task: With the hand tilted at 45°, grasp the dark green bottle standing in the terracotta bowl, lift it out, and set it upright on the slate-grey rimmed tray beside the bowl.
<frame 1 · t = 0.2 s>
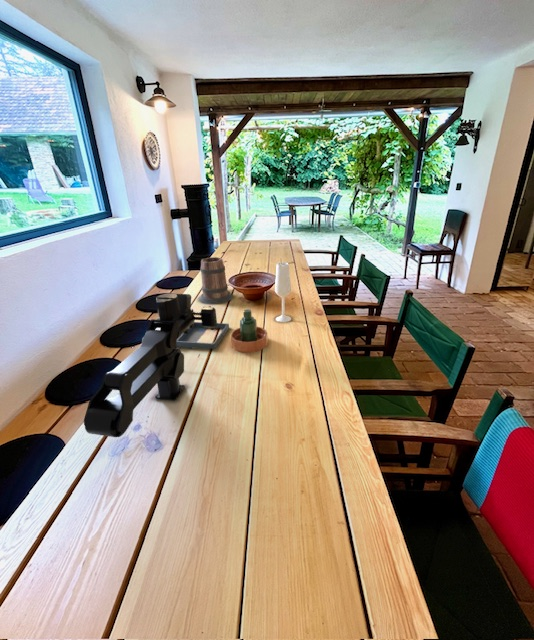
hand: (197, 306, 109), 17 cm above the table, tool horizontal, fingers open, 9 cm apart
bowl: (249, 344, 118), on the table
tankard: (216, 296, 167), on the table
tray: (203, 337, 124), on the table
bottle: (249, 343, 118), point 1 cm above the table, touching bowl
champagne flute: (283, 319, 138), on the table
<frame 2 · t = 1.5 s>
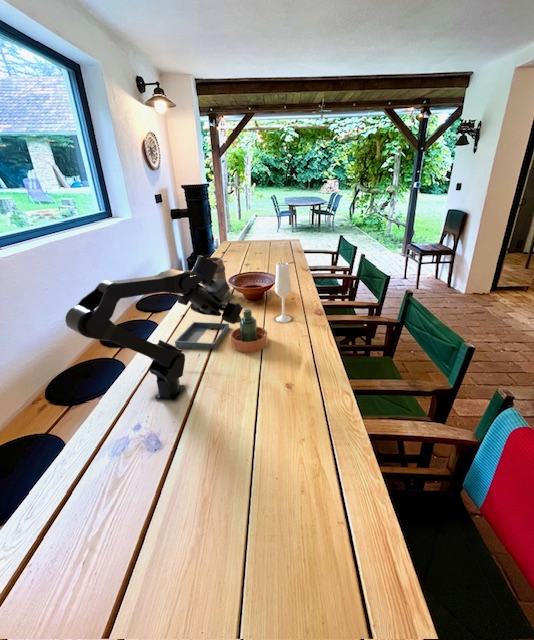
hand: (230, 317, 107), 14 cm above the table, tool tilted 45°, fingers open, 9 cm apart
nothing on the table moved.
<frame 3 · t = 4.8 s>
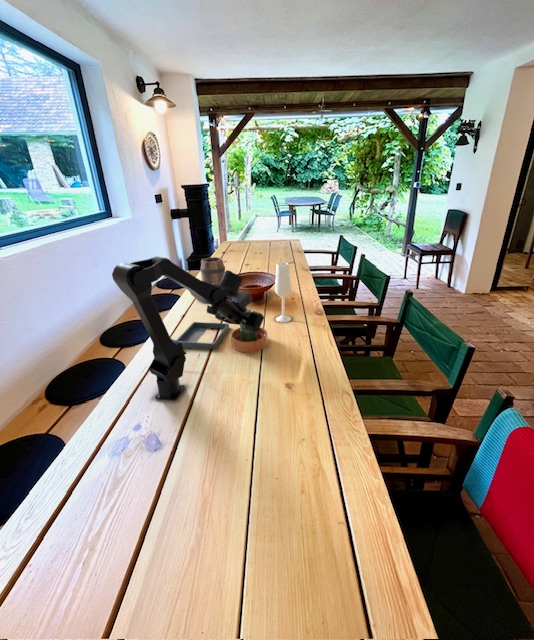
hand: (251, 326, 116), 7 cm above the table, tool tilted 45°, fingers closed on bottle, 6 cm apart
bottle: (249, 343, 118), point 1 cm above the table, touching bowl, gripper
everything else where it was.
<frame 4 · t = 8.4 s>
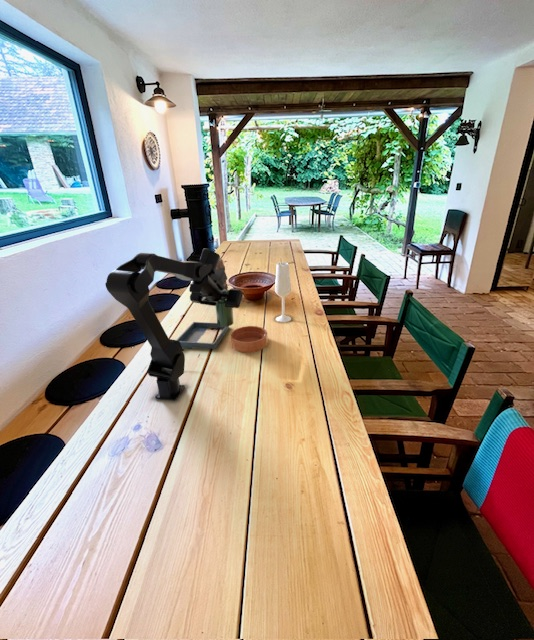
hand: (225, 305, 118), 13 cm above the table, tool tilted 45°, fingers closed on bottle, 6 cm apart
bottle: (225, 323, 119), point 7 cm above the table, touching gripper
everything else where it was.
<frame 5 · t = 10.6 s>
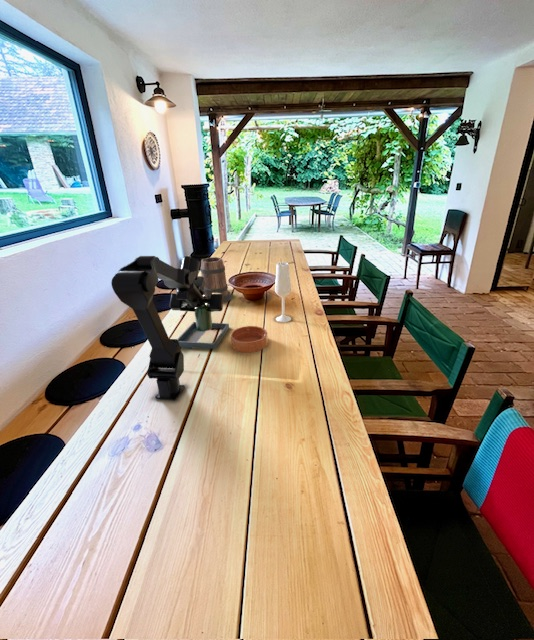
hand: (204, 310, 121), 11 cm above the table, tool tilted 45°, fingers closed on bottle, 6 cm apart
bottle: (204, 327, 122), point 4 cm above the table, touching gripper
everything else where it was.
when the fingers open (7 cm above the table, at t = 12.3 s): bottle stays where it is, resting on tray.
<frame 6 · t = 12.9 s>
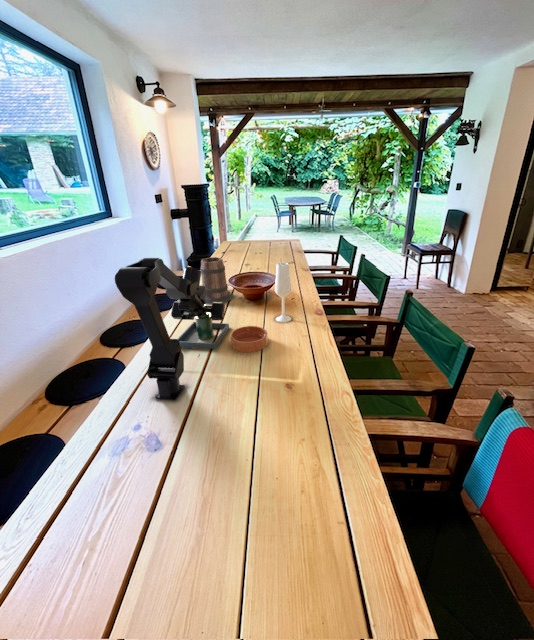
hand: (205, 318, 122), 8 cm above the table, tool tilted 45°, fingers open, 9 cm apart
bottle: (206, 336, 124), resting on tray
everything else where it was.
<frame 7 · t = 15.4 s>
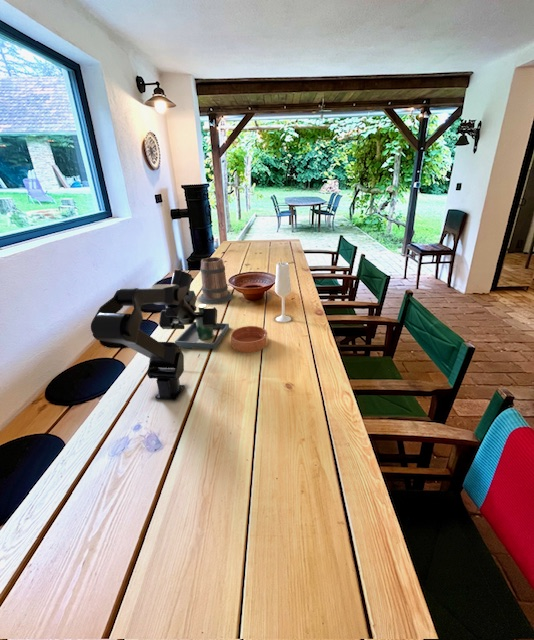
hand: (196, 327, 113), 9 cm above the table, tool tilted 45°, fingers open, 9 cm apart
nothing on the table moved.
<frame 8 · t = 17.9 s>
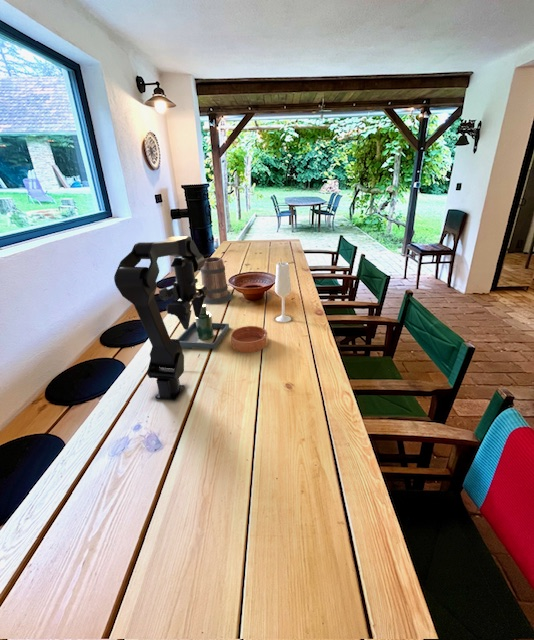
hand: (192, 323, 106), 13 cm above the table, tool pointing down, fingers open, 9 cm apart
nothing on the table moved.
at the end: bottle inside the target area in the tray (1.0 cm from its centre), point 0.5 cm above the tray's base; bottle tilted 0°; the gripper is holding nothing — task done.
